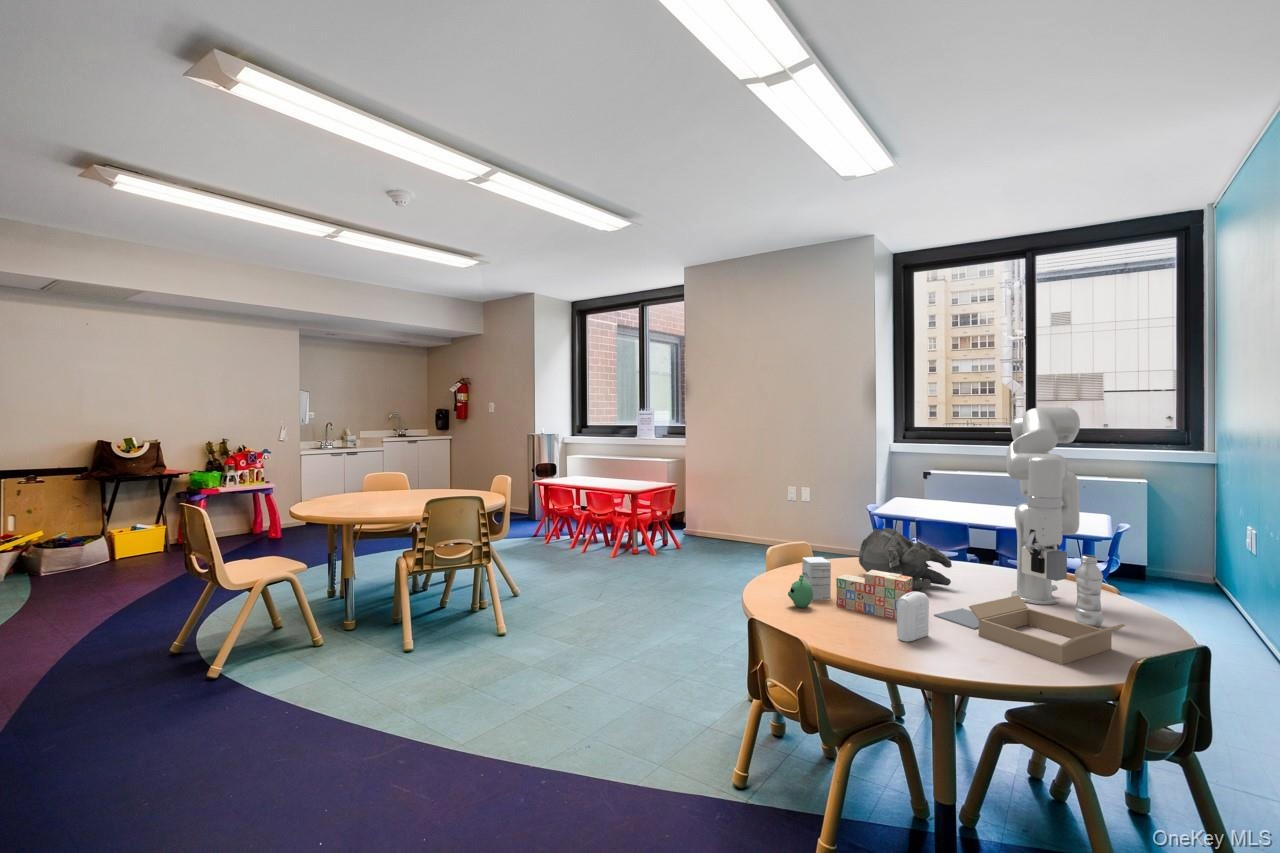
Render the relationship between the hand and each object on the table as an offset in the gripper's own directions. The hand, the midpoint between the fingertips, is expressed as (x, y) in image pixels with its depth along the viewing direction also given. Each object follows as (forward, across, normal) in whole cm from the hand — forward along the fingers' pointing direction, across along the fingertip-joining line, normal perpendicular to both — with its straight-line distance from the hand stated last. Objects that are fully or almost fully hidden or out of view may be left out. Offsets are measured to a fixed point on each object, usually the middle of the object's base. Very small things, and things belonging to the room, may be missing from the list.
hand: (1043, 570), depth 162 cm
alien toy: (+19, +39, -52) cm, 67 cm away
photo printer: (+19, +29, -18) cm, 39 cm away
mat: (+19, +2, -21) cm, 28 cm away
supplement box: (+20, +27, -58) cm, 66 cm away
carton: (+19, +1, 0) cm, 19 cm away
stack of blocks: (+20, +21, -38) cm, 48 cm away
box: (+1, 0, 0) cm, 1 cm away
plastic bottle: (+20, -24, -2) cm, 31 cm away
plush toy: (+20, -13, -57) cm, 62 cm away
